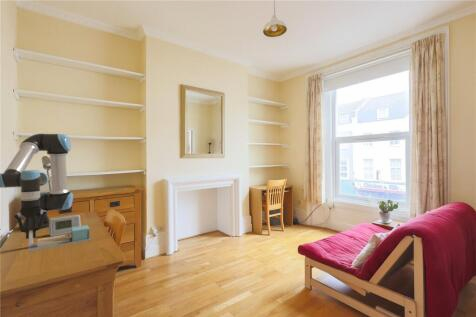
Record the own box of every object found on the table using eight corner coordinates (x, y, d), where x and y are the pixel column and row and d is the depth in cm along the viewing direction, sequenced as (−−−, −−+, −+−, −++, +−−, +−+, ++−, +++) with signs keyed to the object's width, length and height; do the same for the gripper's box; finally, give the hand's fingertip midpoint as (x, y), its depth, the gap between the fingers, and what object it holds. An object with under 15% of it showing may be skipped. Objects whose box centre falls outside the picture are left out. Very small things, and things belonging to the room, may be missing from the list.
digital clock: (48, 238, 139) (47, 220, 139) (50, 234, 147) (50, 217, 147) (80, 233, 148) (80, 216, 148) (81, 229, 155) (81, 213, 155)
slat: (37, 244, 127) (37, 239, 127) (69, 239, 135) (69, 234, 135) (37, 247, 123) (37, 241, 123) (70, 241, 132) (69, 235, 132)
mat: (29, 245, 127) (29, 244, 127) (88, 235, 144) (88, 234, 144) (27, 252, 117) (27, 251, 117) (90, 240, 134) (90, 239, 134)
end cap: (71, 237, 138) (71, 227, 138) (87, 234, 143) (87, 225, 143) (72, 241, 131) (72, 231, 131) (89, 238, 136) (89, 228, 136)
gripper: (12, 201, 116) (13, 249, 116) (46, 199, 124) (46, 243, 125) (14, 199, 122) (14, 245, 122) (46, 197, 130) (47, 239, 130)
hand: (31, 244), depth 123 cm, fingers closed
